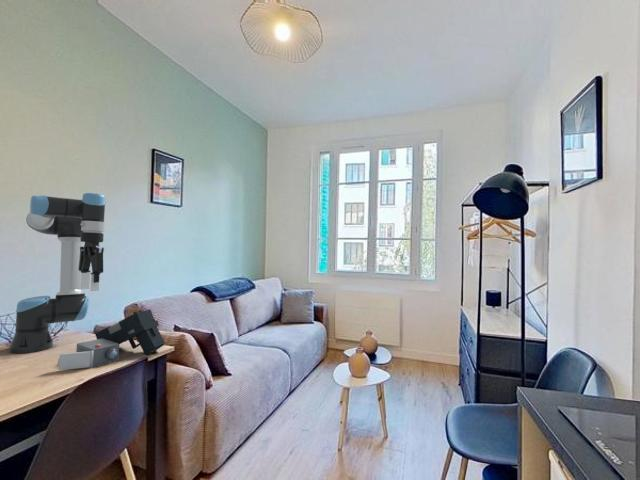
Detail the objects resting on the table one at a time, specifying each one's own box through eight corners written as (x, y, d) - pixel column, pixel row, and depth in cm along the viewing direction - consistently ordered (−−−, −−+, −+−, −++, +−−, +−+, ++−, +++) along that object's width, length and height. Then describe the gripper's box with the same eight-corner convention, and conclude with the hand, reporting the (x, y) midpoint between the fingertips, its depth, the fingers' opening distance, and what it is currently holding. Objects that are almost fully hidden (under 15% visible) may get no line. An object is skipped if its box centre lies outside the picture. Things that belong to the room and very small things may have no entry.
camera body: (75, 360, 139) (76, 341, 139) (101, 354, 148) (102, 336, 148) (95, 368, 131) (96, 348, 131) (121, 361, 140) (122, 342, 140)
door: (93, 365, 133) (94, 349, 133) (92, 367, 131) (93, 351, 131) (58, 369, 128) (59, 352, 129) (57, 371, 127) (58, 354, 127)
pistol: (154, 350, 146) (138, 309, 148) (107, 372, 151) (92, 331, 153) (168, 344, 156) (152, 305, 158) (124, 365, 160) (109, 327, 162)
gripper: (69, 231, 134) (67, 288, 134) (94, 231, 124) (92, 293, 123) (90, 232, 140) (87, 286, 140) (115, 232, 130) (113, 291, 130)
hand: (89, 289), depth 132 cm, fingers open, 7 cm apart
